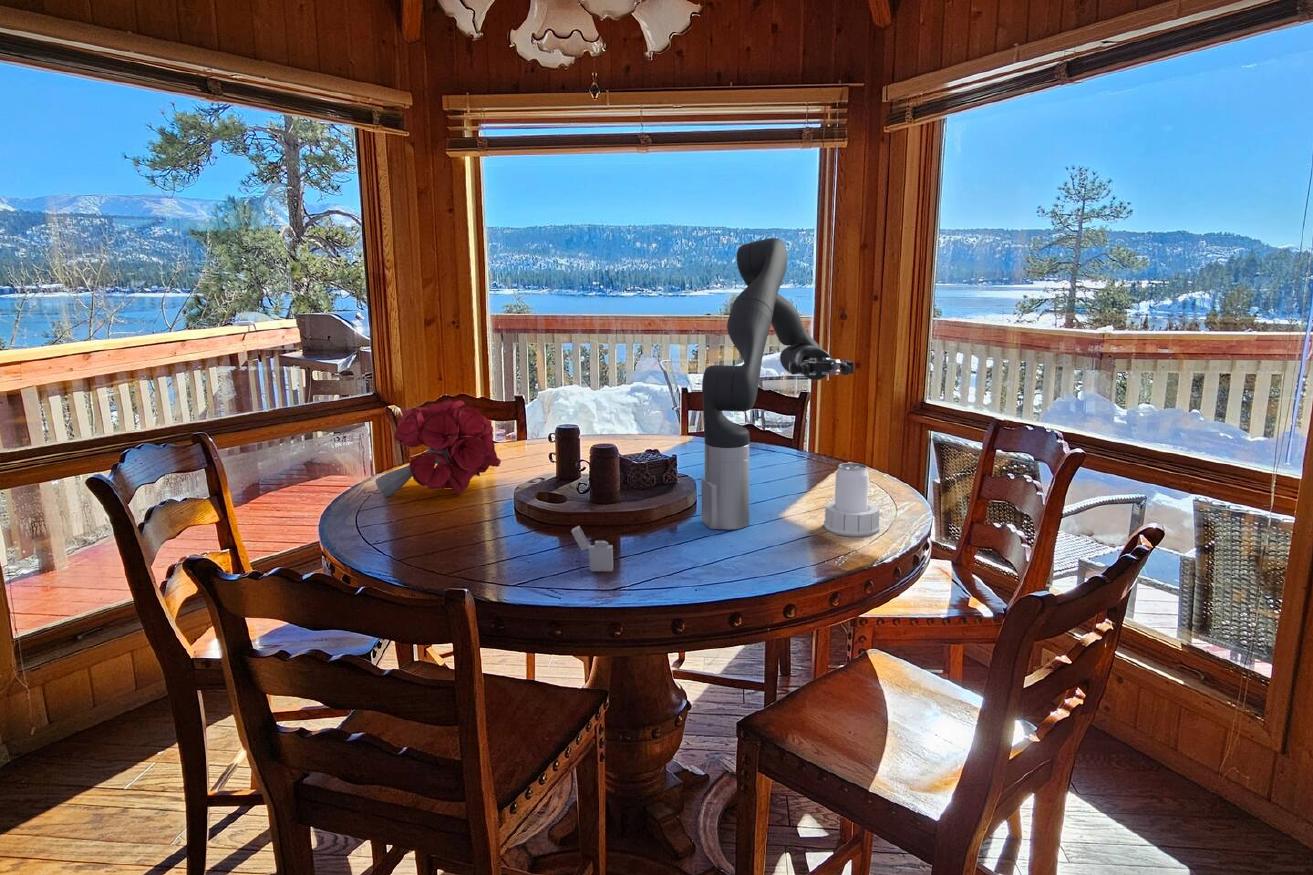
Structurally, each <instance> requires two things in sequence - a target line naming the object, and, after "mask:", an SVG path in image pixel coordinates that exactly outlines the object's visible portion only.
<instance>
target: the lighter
mask: <svg viewBox="0 0 1313 875" xmlns="http://www.w3.org/2000/svg"><path fill="white" fill-rule="evenodd" d="M570 532H571V534H572V536H573V537H574V539H575V541H576V543H577V545H578V546H579V548H580V550H581V551H582V552H583V551H586V550H588V563H589V564H588V565H589V567H588V568H589V571H590V570H591V571H590V572H613V571H614V548H613V546H614V545H612V544H609V542H608V541H606V540H595V541H594V544H593V545H591V544H590V543H589V541H588V539H587V537H586V535H585V534H584V531H583V530H582V528H581V526H580V525H577V526H575V527H574V528H572V529H571V531H570Z"/></svg>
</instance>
